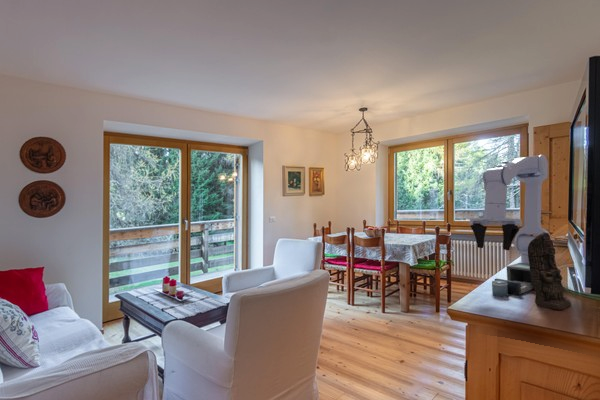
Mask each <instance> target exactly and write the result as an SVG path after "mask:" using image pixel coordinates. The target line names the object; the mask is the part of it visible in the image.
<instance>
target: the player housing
mask: <svg viewBox="0 0 600 400" xmlns="http://www.w3.org/2000/svg"><path fill="white" fill-rule="evenodd" d="M506 280H509V281H511V280H516V281H522V282H528V283H532V279H531V274H530V266H529V264H526V263H521V262H517V263H513V264H509V265H506Z"/></svg>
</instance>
